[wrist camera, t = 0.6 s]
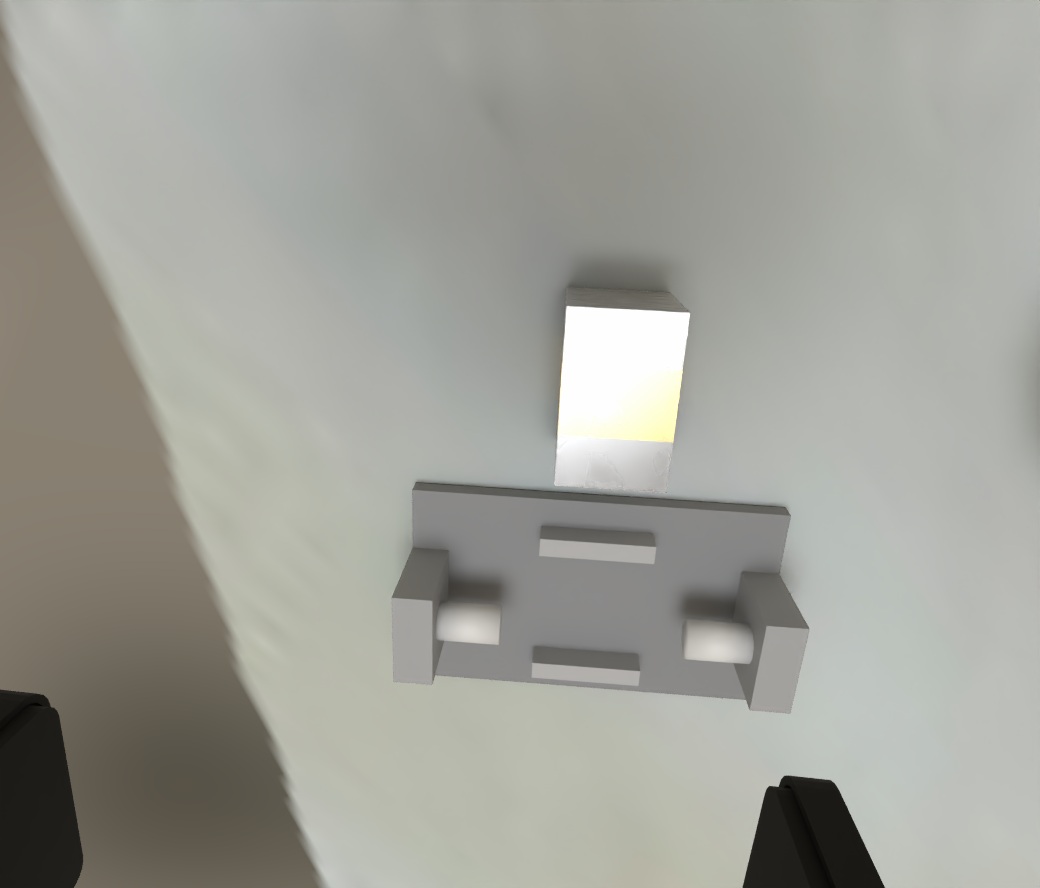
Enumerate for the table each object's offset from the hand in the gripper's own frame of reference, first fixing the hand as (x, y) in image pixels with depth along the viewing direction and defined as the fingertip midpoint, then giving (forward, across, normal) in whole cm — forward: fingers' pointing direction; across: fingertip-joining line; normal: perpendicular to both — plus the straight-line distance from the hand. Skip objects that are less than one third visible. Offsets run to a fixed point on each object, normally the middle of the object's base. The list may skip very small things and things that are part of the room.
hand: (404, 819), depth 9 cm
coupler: (+28, -4, 0) cm, 28 cm away
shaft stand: (+28, -5, +13) cm, 31 cm away
